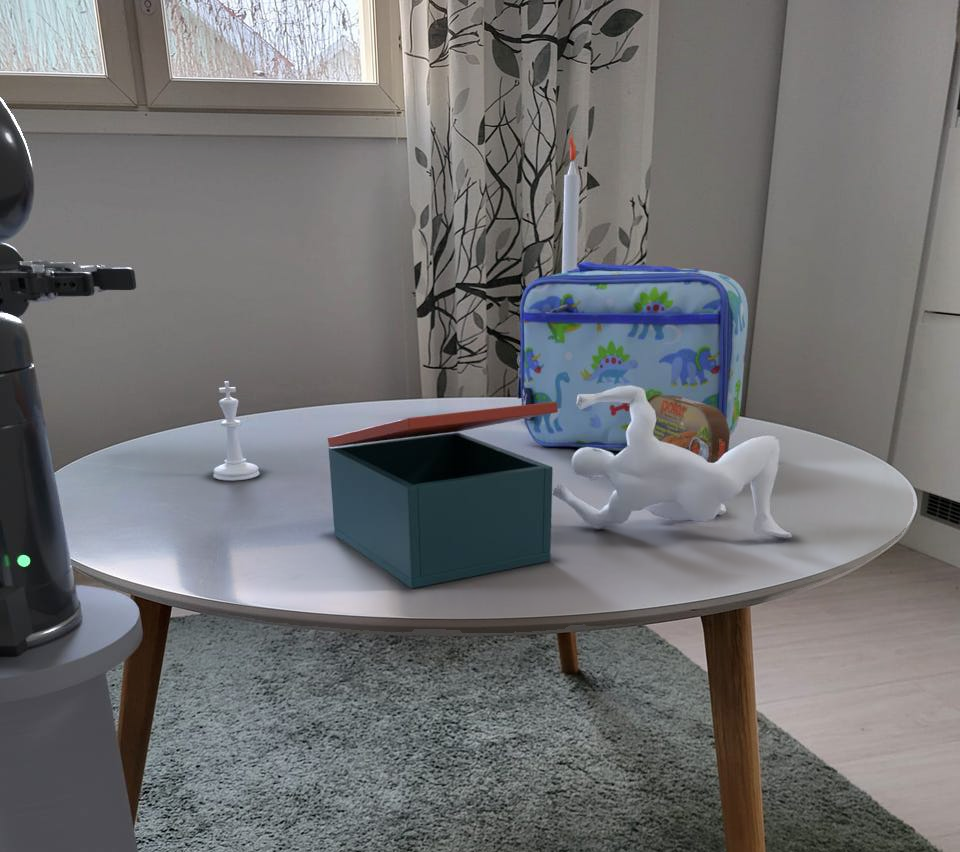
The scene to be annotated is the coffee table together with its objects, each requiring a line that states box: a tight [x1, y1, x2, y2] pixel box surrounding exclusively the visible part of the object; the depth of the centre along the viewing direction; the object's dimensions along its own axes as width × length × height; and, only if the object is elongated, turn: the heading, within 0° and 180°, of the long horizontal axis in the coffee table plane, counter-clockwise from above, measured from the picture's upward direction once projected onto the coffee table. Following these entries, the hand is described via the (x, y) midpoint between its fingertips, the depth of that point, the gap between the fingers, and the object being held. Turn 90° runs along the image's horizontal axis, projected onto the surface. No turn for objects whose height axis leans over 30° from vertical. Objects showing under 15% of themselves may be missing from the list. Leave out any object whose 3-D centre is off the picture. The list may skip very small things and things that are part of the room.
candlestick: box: [561, 133, 581, 273], centre depth 124 cm, size 11×11×35 cm
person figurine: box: [552, 385, 793, 539], centre depth 83 cm, size 13×13×18 cm
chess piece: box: [213, 380, 261, 482], centre depth 104 cm, size 5×5×10 cm
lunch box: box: [516, 260, 749, 452], centre depth 113 cm, size 26×11×21 cm, turn 62°
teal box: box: [328, 432, 554, 589], centre depth 80 cm, size 16×13×8 cm
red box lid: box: [327, 402, 558, 448], centre depth 78 cm, size 17×13×1 cm
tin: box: [647, 394, 731, 463], centre depth 101 cm, size 15×3×8 cm, turn 19°
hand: (113, 281), depth 99 cm, fingers open, 8 cm apart
